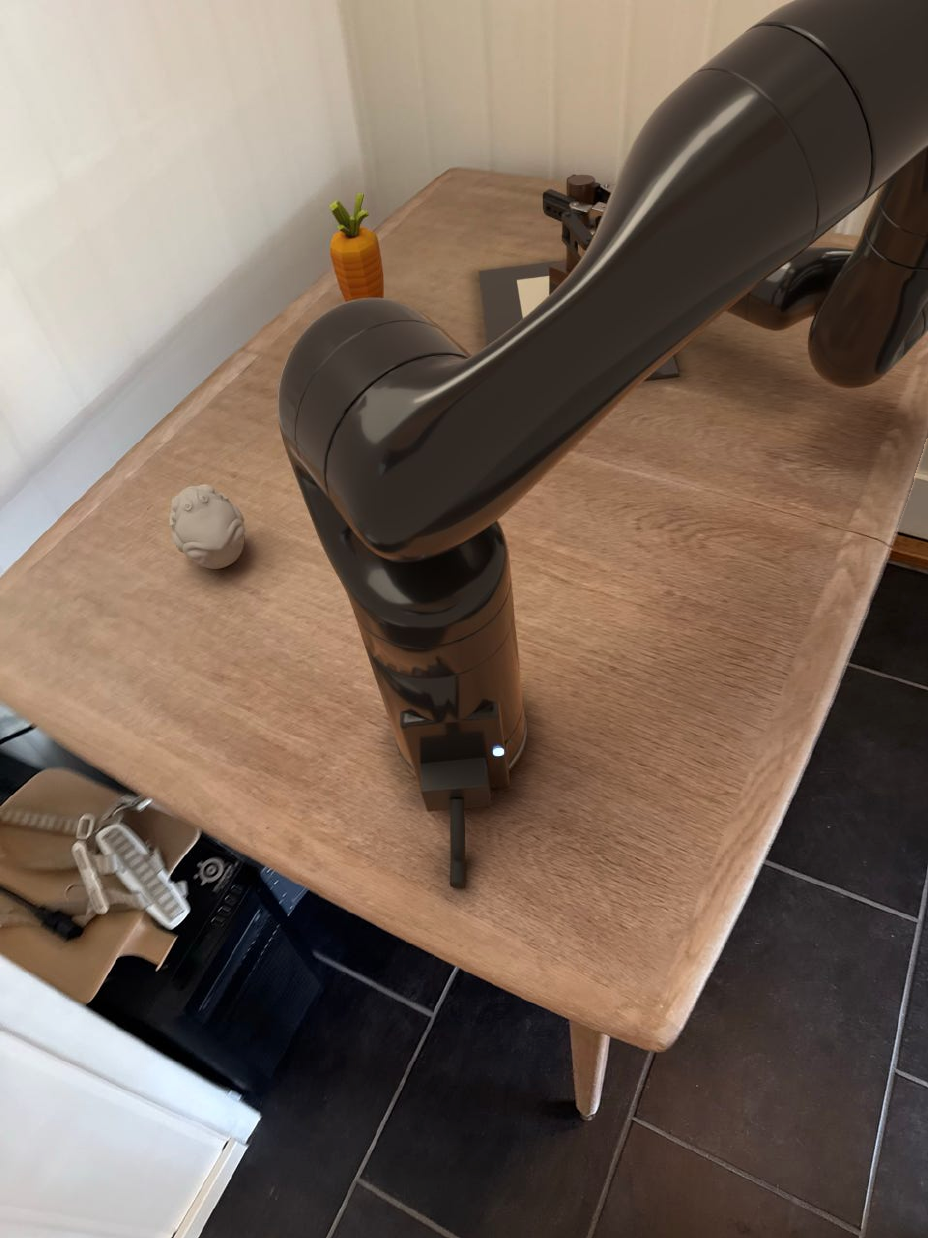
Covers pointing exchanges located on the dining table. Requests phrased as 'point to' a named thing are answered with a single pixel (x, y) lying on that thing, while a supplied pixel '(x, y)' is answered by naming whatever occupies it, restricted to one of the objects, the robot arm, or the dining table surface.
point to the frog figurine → (207, 527)
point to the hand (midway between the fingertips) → (557, 193)
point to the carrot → (356, 254)
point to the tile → (525, 302)
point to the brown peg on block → (583, 192)
